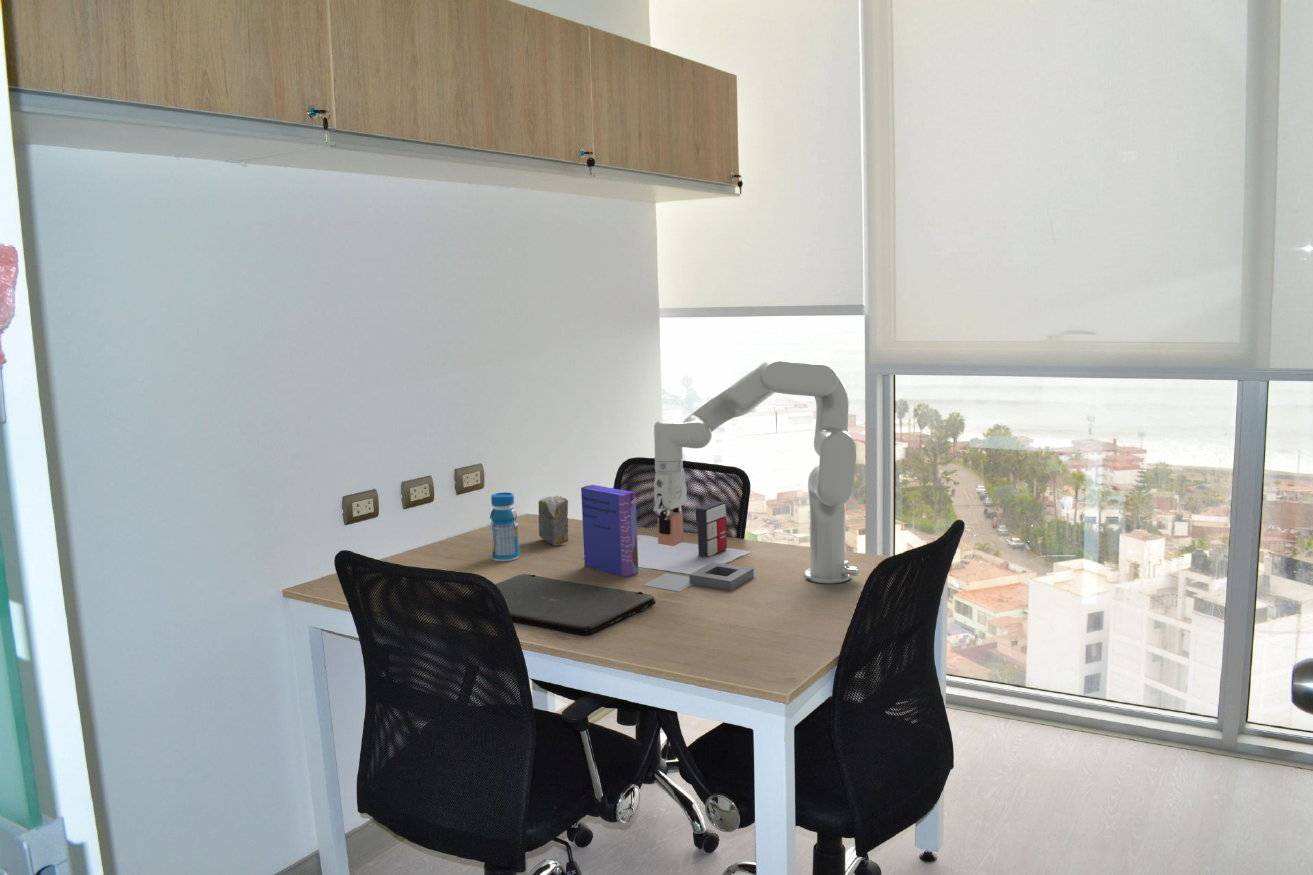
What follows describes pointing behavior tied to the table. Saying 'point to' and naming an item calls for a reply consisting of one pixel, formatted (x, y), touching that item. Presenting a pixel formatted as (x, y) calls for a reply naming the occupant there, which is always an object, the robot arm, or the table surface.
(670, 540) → the block
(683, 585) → the mat
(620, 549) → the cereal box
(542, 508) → the geological specimen
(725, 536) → the grey and red box
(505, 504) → the beverage bottle
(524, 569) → the table surface
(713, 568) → the pocket tray
